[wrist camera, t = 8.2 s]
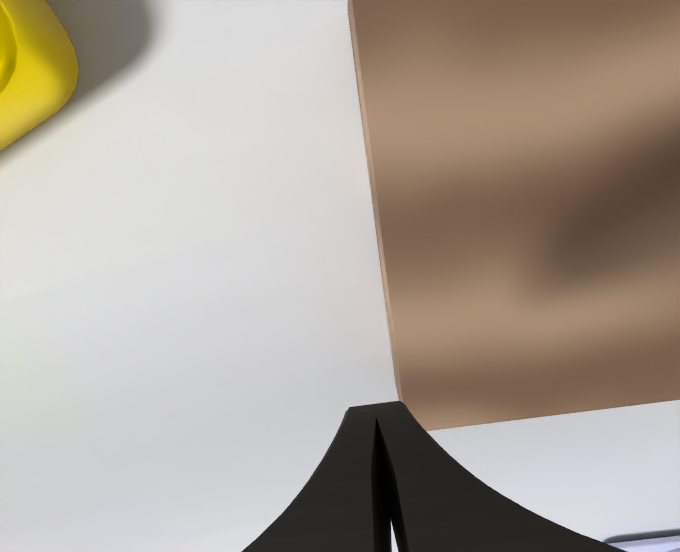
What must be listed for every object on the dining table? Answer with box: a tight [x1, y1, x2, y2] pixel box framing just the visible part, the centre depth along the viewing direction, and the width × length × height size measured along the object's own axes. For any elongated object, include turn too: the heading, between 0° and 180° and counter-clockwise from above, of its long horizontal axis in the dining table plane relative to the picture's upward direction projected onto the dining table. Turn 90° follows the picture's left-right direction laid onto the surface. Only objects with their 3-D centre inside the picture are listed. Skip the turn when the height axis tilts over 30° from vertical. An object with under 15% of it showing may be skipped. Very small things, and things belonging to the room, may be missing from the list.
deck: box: [348, 0, 680, 431], centre depth 18 cm, size 16×12×4 cm
